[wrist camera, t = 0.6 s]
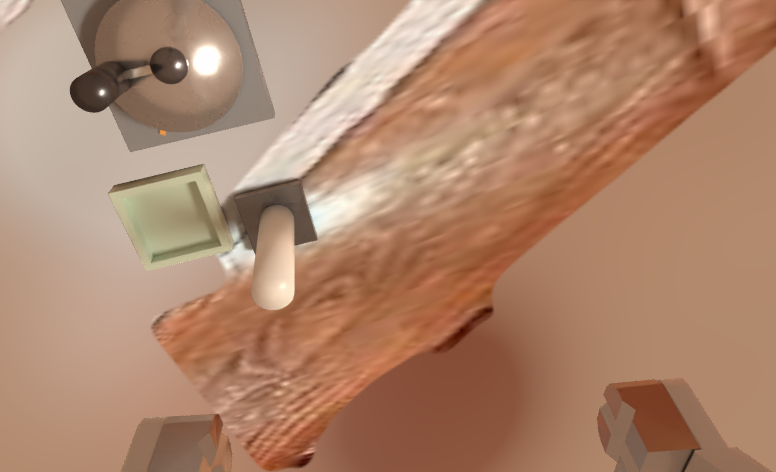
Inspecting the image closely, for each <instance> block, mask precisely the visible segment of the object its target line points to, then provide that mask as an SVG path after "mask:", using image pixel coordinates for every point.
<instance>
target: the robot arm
mask: <svg viewBox="0 0 776 472" xmlns="http://www.w3.org/2000/svg"><path fill="white" fill-rule="evenodd" d="M604 396H605V399H606V401H607V403H606V404H605V405H603V406H602V407H601V408H600V409H599V413H598V418H597V421H598V432H599V436H600V440H601V443H602V445H603V448H604V450H605V453H607V454H608V455H609V456H610V457H611V458H613V459H614V460H615V461H617V464H616V468H615V471H614V472H772V471H770V470H769V469H768V468H766V467H765V466H763V465H762V464H760V463H759V462H757V461H756V460H754V459H753V458H751V457H750V456H749V455H747V454H746V453H744V452H743V451H741V450H739V449H738V448H737V447H728V445H727V443H726V442H725V440H724V439H723V437H722V436H721V434H720V433H719V431H718V429H717V428H716V426H715V425H714V423H713V422H712V420H711V418H710V417H709V416H708V414H707V412H706V411H705V410H704V408H703V406H702V405H701V403H700V402H699V400H698V398H697V397H696V395H695V394H694V392H693V390H692V389H691V387H690V386H689V384H688V383H687V382H686V381H685V380H684V379H682V378H676V379H665V380H644V381H634V382H622V383H612V384H609V385H608V386H607V387H606V389H605V392H604ZM222 427H223V422H222V420H221V417H220V415H219V414H209V415H191V416H173V417H156V418H144V419H143V420H142V421H141V423H140V424H139V425H138V427H137V429H136V432H135V435H134V437H133V440H132V443H131V445H130V448H129V451H128V453H127V456H126V459H125V461H124V465H123V467H122V470H121V472H231V468H232V450H231V443H230V441H229V438H228V436H227V435H225V434H223V433H222V432H221V431H222Z"/></svg>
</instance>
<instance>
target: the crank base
mask: <svg viewBox="0 0 776 472" xmlns="http://www.w3.org/2000/svg"><path fill="white" fill-rule="evenodd" d="M117 1H119V0H61V2H62V4H63V6H64V8H65V10H66V13H67V15H68V17H69V19H70V21H71V24H72V26H73V28H74V30H75V32H76V35H77V37H78V39H79V41H80V43H81V46H82V48H83V50H84V52H85V54H86V56H87V58H88V61H89V63H90V65H91V67H92V69H93V68H94V67H96V66H97V65H96V60H95V40H96V34H97V31H98V28H99V25H100V23H101V21H102V19H103V17H104V15H105V14H106V13H107V11H108V10H109V9H110V8H111V7H112V6H113V5H114V4H115V3H116V2H117ZM204 1H206V2H207V3H209V4H210V5H211V6H213V7H214V8H215V9H216V10H217V11H218V12H219V13H220V14H221V15H222V16H223V17H224V18H225V19H226V21H227V22H228V23H229V25H230V26H231V28H232V29H233V31H234V33H235V35H236V37H237V39H238V42H239V45H240V48H241V52H242V56H243V64H244V66H243V80H242V84H241V88H240V91H239V93H238V96H237V98H236V100H235V102H234V103H233V105H232V107H231V108H230V109H229V111H228V112H227V113H226V114H225V115H224V116H223V117H222V118H220V119H219V120H218V121H216V122H215V123H213V124H212V125H210V126H207V127H205V128H203V129H199V130H196V131H191V132H168V131H163V130H159V129H156V128H153V127H150V126H148V125H145V124H143V123H141V122H140V121H138V120H136V119H134V118H133V117H132V116H130V115H129V114H128V113H126V112H125V111H124V110H123V109H122V108H121V107H120V106H119V105H118V104H117V103H116V102H115V101H114V102H113V103H111V104H110V105H109V107H110V109H111V111H112V113H113V116H114V118H115V120H116V122H117V124H118V127H119V129H120V131H121V133H122V135H123V138H124V140H125V142H126V144H127V146H128V149H129V151H130V152H133V151H137V150H141V149H146V148H150V147H154V146H158V145H162V144H167V143H171V142H175V141H179V140H184V139H187V138H192V137H196V136H200V135H204V134H209V133H213V132H217V131H221V130H226V129H229V128H234V127H239V126H243V125H247V124H251V123H255V122H260V121H264V120H268V119H272V118H274V116H275V111H274V108H273V105H272V101H271V98H270V95H269V91H268V88H267V85H266V82H265V79H264V75H263V72H262V69H261V65H260V62H259V59H258V55H257V53H256V49H255V46H254V42H253V39H252V36H251V32H250V30H249V26H248V22H247V19H246V16H245V12H244V9H243V6H242V3H241V0H204Z"/></svg>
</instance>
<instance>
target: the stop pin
mask: <svg viewBox="0 0 776 472" xmlns="http://www.w3.org/2000/svg"><path fill="white" fill-rule="evenodd" d="M251 296H252V299H253V300H254V302H255V303H256V304H257V305H258V306H260V307H262V308H264V309H268V310H277V309H281V308H284V307H285V306H287V305H288V304H289V303H290V302H291V301H292V299H293V297H294V216H293V214H292V212H291V211H290V210H289V209H288V208H287V207H285V206H282V205H272V206H269V207H267V208H266V209H265V210H264V211H263V212H262V214H261V217H260V224H259V232H258V240H257V248H256V255H255V263H254V271H253V279H252V287H251Z"/></svg>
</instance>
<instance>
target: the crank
mask: <svg viewBox="0 0 776 472" xmlns="http://www.w3.org/2000/svg"><path fill="white" fill-rule="evenodd" d="M95 60H96V65H97V66H96V67H94V68H93V69H91V70H89V71H88V72H86V73H84V74H83V75H81V76H79V77H78V78H76V79H75V80H74V81H73V82H72V84H71V86H70V95H71V98H72V100H73V101H74V103H75V104H76V105H77V106H78V107H80V108H81V109H83V110H85V111H87V112H93V113H95V112H100V111H102V110H104V109H105V108H107V107H108V106H109V105H110V104H111V103H113V102H114V101H115V102H116V103H117V104H118V105H119V106H120V107H121V108H122V109H123V110H124V111H125V112H126V113H128V114H129V115H130V116H132V117H133V118H134V119H136V120H138V121H140V122H141V123H143V124H145V125H148V126H150V127H153V128H156V129H159V130H163V131H168V132H191V131H196V130H199V129H203V128H205V127H207V126H210V125H212V124H213V123H215V122H216V121H218V120H219V119H220V118H222V117H223V116H224V115H225V114H226V113H227V112H228V111H229V109H230V108H231V107H232V105H233V103H234V102H235V100H236V98H237V96H238V93H239V91H240V88H241V84H242V80H243V66H244V64H243V56H242V52H241V48H240V45H239V42H238V39H237V37H236V35H235V33H234V31H233V29H232V28H231V26H230V25H229V23H228V22H227V21H226V19H225V18H224V17H223V16H222V15H221V14H220V13H219V12H218V11H217V10H216V9H215V8H214V7H213V6H211V5H210V4H209V3H207V2H206V1H204V0H119V1H117V2H116V3H115V4H114V5H113V6H112V7H111V8H110V9H109V10H108V11H107V13H106V14H105V15H104V17H103V19H102V21H101V23H100V25H99V28H98V31H97V34H96V40H95Z"/></svg>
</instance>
